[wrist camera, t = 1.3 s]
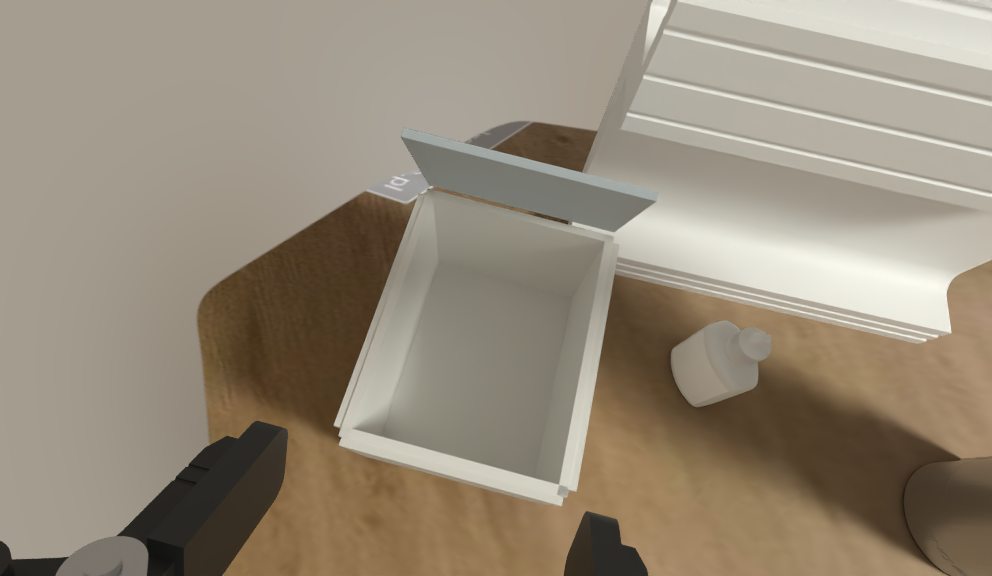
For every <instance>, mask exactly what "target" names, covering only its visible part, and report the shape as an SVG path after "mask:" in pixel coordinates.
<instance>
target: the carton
mask: <svg viewBox="0 0 992 576" xmlns="http://www.w3.org/2000/svg"><path fill="white" fill-rule="evenodd" d="M613 241H614V236H611V235H607V234H603V233H599V232H595V231H591V230H587V229H583V228H580V227H576V226H572V225H568V224H564V223H560V222H556V221H552V220H548V219H544V218H540V217H537V216H533V215H529V214H525V213H521V212H517V211H513V210H509V209H505V208H501V207H497V206H494V205H490V204H486V203H482V202H478V201H474V200H470V199H466V198H462V197H458V196H454V195H451V194H447V193H443V192H439V191H435V190H431V189H427V192H426V194H425V195H424V194H420V193H419V195H418V197H417V200H416V203H415V206H414V208H413V211H412V214H411V216H410V219H409V222H408V225H407V227H406V230H405V233H404V236H403V238H402V241H401V244H400V246H399V249H398V252H397V255H396V257H395V260H394V263H393V265H392V268H391V271H390V274H389V276H388V279H387V282H386V284H385V287H384V290H383V293H382V295H381V298H380V301H379V303H378V306H377V309H376V312H375V314H374V317H373V320H372V322H371V325H370V328H369V331H368V333H367V336H366V339H365V341H364V344H363V347H362V350H361V352H360V355H359V358H358V360H357V363H356V366H355V369H354V371H353V374H352V377H351V380H350V382H349V385H348V388H347V390H346V393H345V396H344V399H343V401H342V404H341V407H340V409H339V412H338V415H337V418H336V420H335V423H334V426H335V427H337V428H339V429H340V432H339V435H338V436H339V437H341V440H340V443H339V446H341V447H344V448H346V449H349V450H351V451H353V452H356V453H358V454H361V455H363V456H366V457H369V458H373V459H377V460H380V461H384V462H388V463H391V464H395V465H399V466H402V467H406V468H410V469H413V470H417V471H421V472H424V473H428V474H432V475H435V476H439V477H443V478H446V479H450V480H454V481H457V482H461V483H465V484H468V485H472V486H476V487H479V488H483V489H487V490H490V491H494V492H498V493H501V494H505V495H509V496H512V497H516V498H520V499H523V500H527V501H531V502H534V503H539V504H547V505H556V506H562V502H563V498H567V495H568V492H573V491H577V486H578V480H579V474H580V468H581V463H582V457H583V451H584V446H585V440H586V434H587V428H588V423H589V417H590V411H591V405H592V400H593V394H594V388H595V383H596V377H597V371H598V365H599V360H600V354H601V348H602V343H603V337H604V331H605V325H606V320H607V314H608V308H609V302H610V297H611V291H612V285H613V280H614V274H615V268H616V262H617V257H618V251H619V244H615V243H613Z"/></svg>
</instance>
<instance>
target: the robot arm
mask: <svg viewBox="0 0 992 576" xmlns="http://www.w3.org/2000/svg"><path fill="white" fill-rule="evenodd" d="M287 439H288V431H287V429H286V428H282V427H278V426H275V425H271V424H267V423H264V422H260V421H256V422H254V423H252V424H251V425H250V427H249V428H248V429H247V430H246V431H245V432H244V433H243V434H242V435H241V436H240V437H239V438H238V439H237V438H233V437H229V436H226V437H224V438H222V439H220V440H219V441H217V442H215V443H213V444H211V445H209V446H207V447H206V448H204V449H203V450H202V451H201V452H200V453H199V454H198V455H197V456H196V457H195V458H194V459H193V460H192V461H191V462H190V463H189V466H188V467H185V469H184V470H182V471H181V473H179V475H177V476H176V479H175V480H174V481H172V482H171V483H170V484H169V485H168V486H167V487H166V488H165V489H164V490H163V491H162V492H161V493H160V494H159V495H158V496H157V497H156V498H155V499H154V500H153V501H152V502H151V503H150V504H149V505H148V506H147V507H146V508H145V509H144V510H143V511H142V512H141V513H140V514H139V515H138V516H137V517H136V518H135V519H134V520H133V521H132V522H131V523H130V524H129V525H128V526H127V527H126V528H125V529H124V530H123V531H122V532H121V533H119V534H118V535H117V536H114V537H108V538H104V539H100V540H97V541H95V542H92V543H90V544H88V545H86V546H84V547H82V548H81V549H79V550H77V551H76V552H75V553H73V554H72V555H71V556H70V557H63V558H43V559H16V560H12V558H11V553H10V550H9V548H8V547H7V545H6V544H4V543H3V542H2V541H0V576H222V575H223V574H224V572H225V571H226V569H227V568H228V566H229V565H230V564H231V562H232V561H233V559H234V558H235V556H236V555H237V554H238V552H239V551H240V549H241V548H242V546H243V545H244V544H245V542H246V541H247V539H248V538H249V536H250V535H251V533H252V532H253V531H254V529H255V528H256V526H257V525H258V523H259V522H260V521H261V519H262V518H263V516H264V515H265V513H266V512H267V511H268V509H269V508H270V506H271V505H272V503H273V502H274V500H275V499H276V497H277V495H278V493H279V491H280V488H281V486H282V483H283V479H284V474H285V462H286V451H287ZM904 510H905V517H906V520H907V523H908V527H909V529H910V531H911V534H912V536H913V538H914V540H915V542H916V543H917V544H918V546H919V547H920V549H921V550H922V552H923V553H924V554H925V555H926V556H927V557H928V559H929V560H930V561H931V562H932V563H933V564H934V565H936V566H937V567H938V568H939V569H941V570H942V571H943V572H945V573H947V574H948V575H950V576H992V456H990V457H976V458H963V459H961V460H960V461H948V462H936V463H929V464H927V465H925V466H922V467H920V468H919V469H918V470H917V471H915V472H914V473H913V475H912V476H911V478H910V479H909V481H908V483H907V486H906V489H905V494H904ZM564 576H648V572H647V569H646V567H645V565H644V563H643V561H642V560H641V558H640V556H639V554H638V552H637V551H636V549H635V548H633V547H629V546H625V545H622V544H621V538H620V530H619V524H618V521H617V520H616V519H614V518H610V517H607V516H603V515H599V514H596V513H592V512H588V511H587V512H585V514H584V516H583V518H582V520H581V523H580V525H579V528H578V530H577V533H576V535H575V538H574V540H573V543H572V545H571V548H570V550H569V553H568V556H567V560H566V564H565V570H564Z"/></svg>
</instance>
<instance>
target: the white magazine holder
mask: <svg viewBox="0 0 992 576" xmlns="http://www.w3.org/2000/svg"><path fill="white" fill-rule="evenodd" d="M582 173H585V174H589V175H593V176H597V177H601V178H605V179H609V180H613V181H617V182H621V183H625V184H629V185H633V186H637V187H641V188H645V189H649V190H653V191H657V192H659V193H658V197H657V201H656V202H655V203H654V204H652V205H651V206H650V207H648V208H647V209H645V210H644V211H643V212H641V213H640V214H639V215H637V216H636V217H635V218H633V219H632V220H630V221H629V222H628V223H626V224H625V225H624V226H622V227H621V228H619V229H618V230H617V231H615V232H610V231H606V230H602V229H599V228H595V227H591V226H587V225H583V224H579V223H575V222H571V221H569V222H568V225H572V226H576V227H580V228H583V229H587V230H591V231H595V232H599V233H603V234H607V235H611V236H614V241H613V243H615V244H619V251H618V257H617V262H616V268H615V274H616V275H620V276H625V277H629V278H633V279H638V280H642V281H647V282H651V283H655V284H660V285H664V286H668V287H673V288H677V289H681V290H686V291H690V292H694V293H699V294H703V295H708V296H712V297H716V298H721V299H725V300H729V301H734V302H738V303H742V304H747V305H751V306H756V307H760V308H764V309H769V310H773V311H777V312H782V313H786V314H790V315H795V316H799V317H804V318H808V319H812V320H817V321H821V322H825V323H830V324H834V325H838V326H843V327H847V328H851V329H856V330H860V331H865V332H869V333H873V334H878V335H882V336H886V337H891V338H895V339H899V340H904V341H908V342H913V343H917V344H920V343H923V342H926V340H927V339H930V340H932V339H935V338H938V335H941V336H944V335H947V334H950V333H951V326H950V319H949V312H948V305H947V298H946V293H947V288H948V286H949V284H950V282H951V281H952V280H953V279H954V278H955V277H956V276H957V275H959V274H960V273H962V272H965V271H967V270H969V269H972V268H974V267H976V266H978V265H981V264H983V263H985V262H988V261H990V260H992V0H648V3H647V6H646V8H645V11H644V13H643V16H642V18H641V21H640V24H639V26H638V29H637V31H636V34H635V37H634V39H633V42H632V44H631V47H630V50H629V52H628V55H627V57H626V60H625V62H624V65H623V68H622V70H621V73H620V75H619V78H618V80H617V83H616V86H615V88H614V91H613V93H612V96H611V98H610V101H609V104H608V106H607V109H606V111H605V114H604V117H603V119H602V122H601V124H600V127H599V129H598V132H597V135H596V137H595V140H594V142H593V145H592V147H591V150H590V153H589V155H588V158H587V160H586V163H585V166H584V168H583V171H582Z"/></svg>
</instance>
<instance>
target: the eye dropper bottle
mask: <svg viewBox="0 0 992 576" xmlns="http://www.w3.org/2000/svg"><path fill="white" fill-rule="evenodd" d="M770 341H771V336H770V335H769V334H768V333H764V332H763V331H761V330H760V329H757V328H753V327H752V328H751V327H750V328H745V329H743V330H742V331H741V330H740V329H739V328H738V327H737V326H735V325H734V324H733V323H731V322H729V321H721V322H716V323H712V324H709V325H707V326H706V327H704V328H703V329H701V330H699V331H698V332H696V333H695V334H693V335H692V336H690V337H689V338H687V339H686V340H684V341H683V342H681V343H680V344H678V345H677V346H675V347H674V348H673V349H672V351H671V368H672V373H673V376H674V379H675V382H676V384H677V386H678V388H679V390H680V392H681V393H682V395H683V396H684V397H685V399H686V400H687V401H688V402H689V403H690V404H691V405H692V406H694V407H702V406H706V405H710V404H713V403H716V402H719V401H722V400H725V399H727V398H730V397H733V396H736V395H738V394H741V393H744V392H746V391H749V390H751V389H753V388H754V387H756V385H757V383H758V362H759V361H761V360H764V359H765V358H767V357H768V356H769V354H770V352H771V347H772V346H771V342H770Z"/></svg>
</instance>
